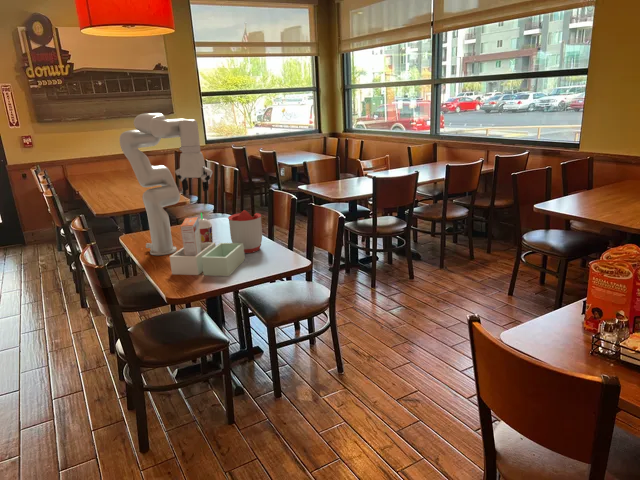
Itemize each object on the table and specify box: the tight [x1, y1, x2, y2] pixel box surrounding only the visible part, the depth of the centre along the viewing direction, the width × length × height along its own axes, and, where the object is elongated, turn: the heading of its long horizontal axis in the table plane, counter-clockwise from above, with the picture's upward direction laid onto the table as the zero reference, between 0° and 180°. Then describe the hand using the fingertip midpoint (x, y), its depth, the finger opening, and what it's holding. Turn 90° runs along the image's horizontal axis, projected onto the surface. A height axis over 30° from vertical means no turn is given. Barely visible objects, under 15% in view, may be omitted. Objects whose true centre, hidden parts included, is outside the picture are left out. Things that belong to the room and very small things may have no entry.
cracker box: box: [180, 216, 203, 256], centre depth 204 cm, size 14×6×21 cm, turn 6°
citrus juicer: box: [227, 209, 263, 254], centre depth 224 cm, size 16×17×20 cm
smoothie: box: [198, 212, 214, 243], centre depth 222 cm, size 8×8×20 cm
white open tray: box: [168, 242, 217, 276], centre depth 206 cm, size 12×20×8 cm, turn 169°
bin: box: [202, 242, 246, 277], centre depth 203 cm, size 11×20×8 cm, turn 169°
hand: (195, 190), depth 200 cm, fingers open, 9 cm apart
